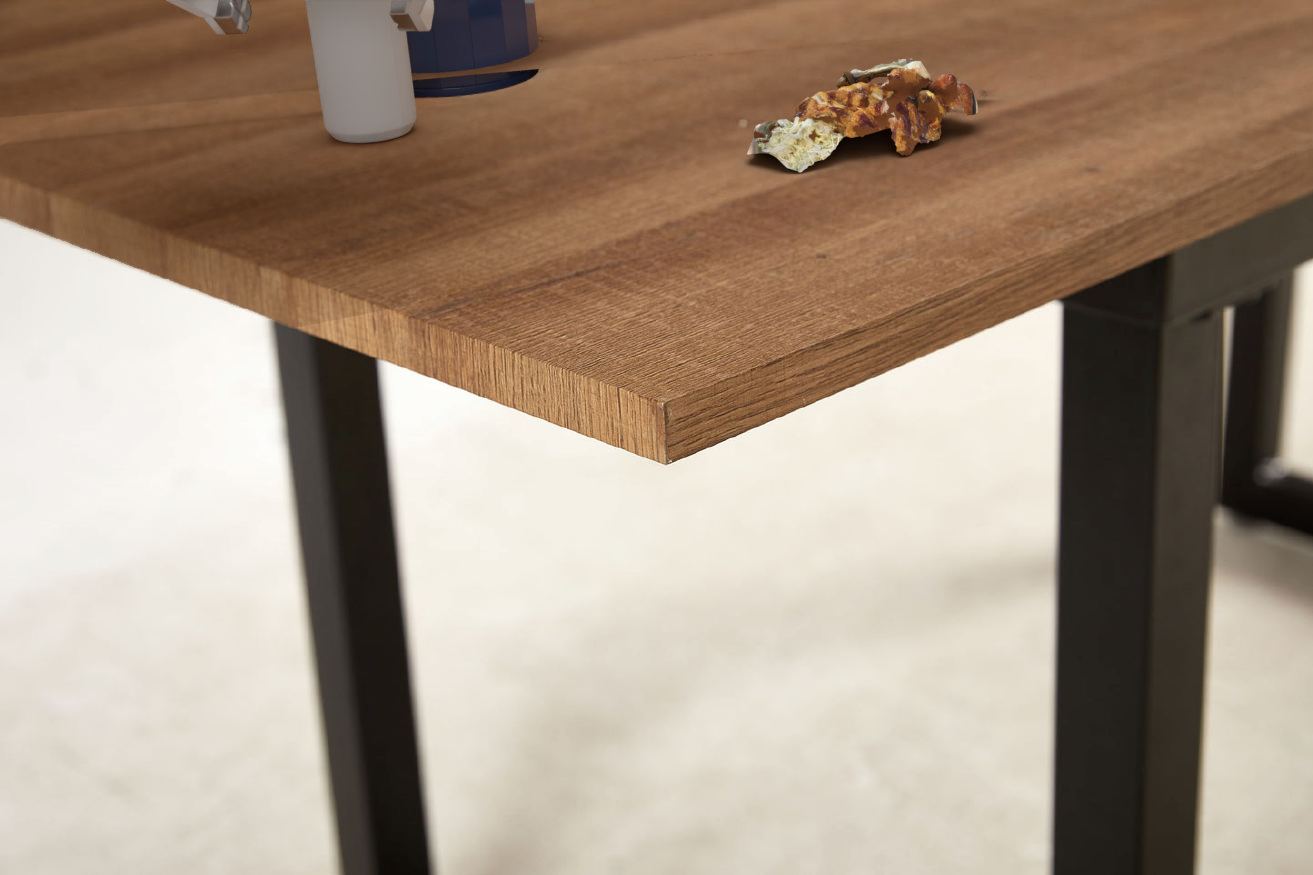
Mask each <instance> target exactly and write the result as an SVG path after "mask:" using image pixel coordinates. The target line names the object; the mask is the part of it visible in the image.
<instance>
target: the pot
mask: <svg viewBox="0 0 1313 875" xmlns="http://www.w3.org/2000/svg"><path fill="white" fill-rule="evenodd" d="M433 2H434V14H433V20H432V26H431V29H430V31H421V32H419V31H406V35H407V43H408V51H409V59H410V67H411V74H441V73H442V74H443V73H451V72H452V73H453V72H462V71H470V70H478V69H484V68H488V67H493V66H499V65H504V64H508V63H512V62H514V61H517V60H520V59H522V58H525V57H528V56H530V55H531V54H533V53H534V52H535V51H536V50H538V48H539V38H538V36H539V35H538V28H537V27H538V26H537V15H536V3H535V0H433ZM539 71H540V68H532V69H522V70H520V69H519V70H511V71H498V72H485V73H478V74H477V73H476V74H464V75H454V76H444V77H435V78H434V77H432V78H421V79H412V82H413V90H414V98H415V99H416V98H417V99H420V98H421V99H427V98H431V99H432V98H449V97H460V96H462V97H463V96H470V95H475V94H483V93H488V92H489V93H490V92H494V91H497V90H502V89H506V88H510V87H513V86H516V85H519V84H522V83H525V82H526V81H529V80H531V79H533V78H534V77H535V76H536V75H537V74H538V73H539Z"/></svg>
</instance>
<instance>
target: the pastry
mask: <svg viewBox="0 0 1313 875" xmlns="http://www.w3.org/2000/svg"><path fill="white" fill-rule="evenodd" d="M913 59H914V58H912V57H911V58H909V60H908V61H909V62H907V59H906V58H902V59H900V58H899V59H897V61H892V62H890V63H880V64H877V65H874V66H873V67H872V68H870V69H866V70H860V69H858V68H854V69H852V70H851V71H845V72H843V76H841V77H840V78H839V79H838V80H837V82H836V84H835V86H836V88H837V89H833V90H827V91H818V92H816V93H815V94H814V95H812V96H811V97H809V96H807V97H806V98H804V99H803V100H802V101H801V102H800V103H799V104H797V106H796V109H795V115H794V116H793V117H792V118H791V119H790V120H788V119H787V118H784V119H778V120H776V122H775V121H774V120H766V121H764V122H763V123H759V124H756V125H755V127H754V128H753V137H754V138H753V139H752V140H751V143H750V146H749V148H748V150H747V152H746V153H747V154H746V155H748V156H749V155H755V154H769V155H771V156H773V157H775V158H776V159H777V160H778V161H779V162H780V163H781V164H782V165H783V166H784V167H785V168H786V169H789V170H793V171H796V172H798V173H802V172H803V171H805V170H806V169H808V167H809V166H813V165H814V164H815V162H818V161H824V160H825V159H827V158H828V157H829V156H831V155H832V153H833V151H834V150H836V149H837V146H838V145H839V143H840V142H841V141H842V140H843V138H845V137H848V138H849V139H851V138H852V139H853V138H857V137H858V138H859V137H861V138H864V136H866V135H870V134H874V133H877V132H880V131H883V130H888V129H890V130H891V131H890V132H892V133H891V139H892V141H894V145H895V146H896V153H899V154H900V155H901V156H906V157H908V156H909V155H912V153H913V151H914V150H915V147H916V146H917V144H918V143H920V144H924V143H925V144H929V142H931V141H933V142H935V141H937V140H940V138H941V136H942V134H943V133H942V128H943V125H942V124H941V122H942V120H943V118H945V116H946V115H947V113H948V114H949V113H950V111H952V110H954V108H961V110H962V112H963V113H965V115H966V116H967V117H969V116H975V115H976V114H977V113H978V110H979V109H978V108H979V107H978V106H979V105H978V101H977V98H976V95H975V93H974V90H973V89H972V88H971V87H970V86H969V85H967V84H966V83H964V82H961V81H960V80H959V79H958V78H957V76H955V75H953V74H951V73H943V74H942V75H939V76H938V77H937V78H936V79H935V80H933V79H932V76H931V74H930V73H929V72H928V70H927V69H926V68H927V67H925V65H924V63H923V62H922V61H921V60H914V61H913ZM877 78H887V80H886V82H872V81H873V79H877ZM870 82H872V83H870Z"/></svg>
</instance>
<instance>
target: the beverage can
mask: <svg viewBox="0 0 1313 875" xmlns="http://www.w3.org/2000/svg"><path fill="white" fill-rule="evenodd" d="M304 1H305V9H306V14H307V21H308V22H307V23H308V28H309V33H310V34H309V35H310V40H311V41H310V42H311V47H312V54H313V60H314V68H315V74H316V79H317V86H318V93H319V100H320V105H321V111H322V118H323V125H324V129H325V131H327V133H328V134H329V135H330V136H332V138H334V139H335V140H337V141H340V142H343V143H349V144H366V143H367V144H370V143H378V142H385V141H389V140H393V139H397V138H400V137H402V136H405V135H406V134H408V133H409V132H410V131H411V130H412V128H413V127H414V125H415V123H416V121H417V119H418V114H417V106H416V100H415V99H416V98H414V90H413V82H412V80H413V76H412V74H413V73H411V67H410V59H409V51H408V43H407V35H406V31H399V30H398V28H397V25H398V24H396V23H395V22H394V21H393V20H392V18H391V16H390V8H391V2H392V1H393V0H304Z"/></svg>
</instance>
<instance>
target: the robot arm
mask: <svg viewBox="0 0 1313 875" xmlns="http://www.w3.org/2000/svg"><path fill="white" fill-rule="evenodd" d="M164 1H166V2H167V3H170V4H172V5H173V6H175V7H177V8H180V9H181V10H184V11H186V12H188V13H189V14H191V15H194V16H196V17H198V18H200V19H203V20H204V21H205V22H206V23H207V25H208V26H209V27H210V28H211V29H212V31H213V32H214V33H215V35H217V36H226V35H246V34H248V32H249V29H250V26H249V23H248V22H250V20H251V18H252V5H251V2H250V0H164ZM433 14H434V2H433V0H393V1H392V2H391V8H390V16H391V18H392V20H393V21H394V22H395V23H396V24H398V25H397V28H398V30H399V31H419V32H421V31H430V29H431V26H432V20H433Z"/></svg>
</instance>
